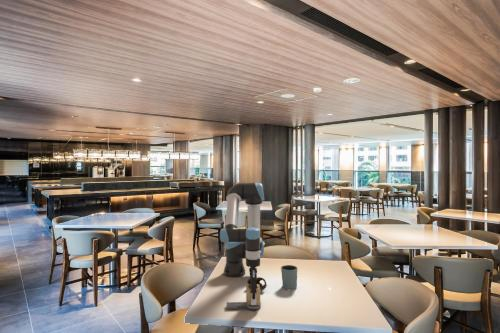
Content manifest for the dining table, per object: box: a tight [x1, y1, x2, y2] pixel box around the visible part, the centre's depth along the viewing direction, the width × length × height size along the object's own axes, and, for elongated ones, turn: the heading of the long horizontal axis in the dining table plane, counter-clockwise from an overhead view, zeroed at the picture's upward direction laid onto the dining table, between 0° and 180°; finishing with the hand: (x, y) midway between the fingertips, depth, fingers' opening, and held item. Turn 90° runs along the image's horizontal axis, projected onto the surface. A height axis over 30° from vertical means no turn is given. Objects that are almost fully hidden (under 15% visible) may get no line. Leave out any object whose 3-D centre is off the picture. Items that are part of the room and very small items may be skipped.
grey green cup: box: [280, 264, 298, 291], centre depth 184 cm, size 10×10×12 cm
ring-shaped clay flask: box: [246, 276, 268, 292], centre depth 180 cm, size 12×10×8 cm
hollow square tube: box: [245, 283, 261, 305], centre depth 157 cm, size 7×7×8 cm
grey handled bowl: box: [226, 301, 262, 312], centre depth 157 cm, size 8×18×7 cm, turn 93°
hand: (253, 301), depth 157 cm, fingers closed on hollow square tube, 7 cm apart
